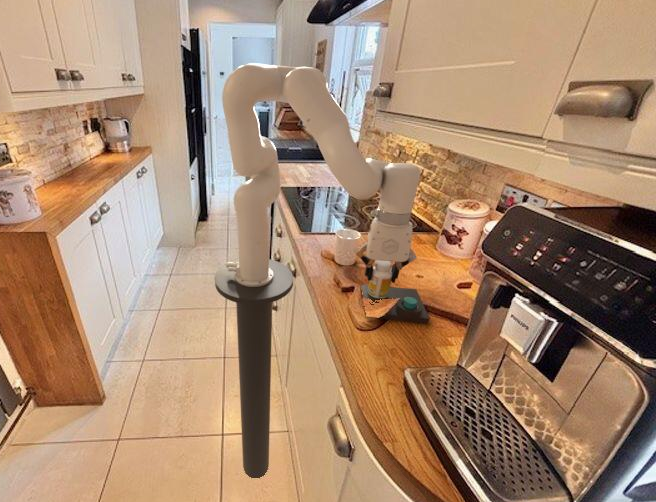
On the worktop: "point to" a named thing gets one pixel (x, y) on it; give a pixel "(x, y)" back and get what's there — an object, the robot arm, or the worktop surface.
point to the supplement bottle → (380, 279)
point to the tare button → (410, 303)
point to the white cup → (346, 246)
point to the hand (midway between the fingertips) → (380, 278)
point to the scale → (401, 305)
